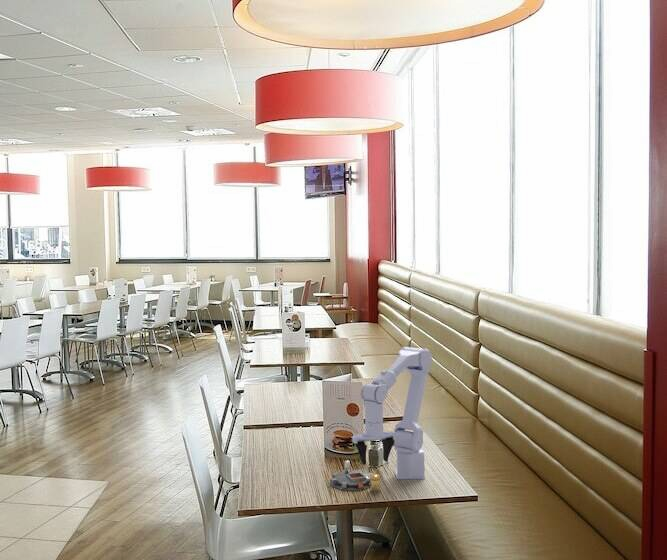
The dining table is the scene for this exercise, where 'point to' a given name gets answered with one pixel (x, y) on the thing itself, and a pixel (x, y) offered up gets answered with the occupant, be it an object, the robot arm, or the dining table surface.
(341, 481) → the grey toothed wheel
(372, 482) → the roller
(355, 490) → the base flange
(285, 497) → the dining table surface
